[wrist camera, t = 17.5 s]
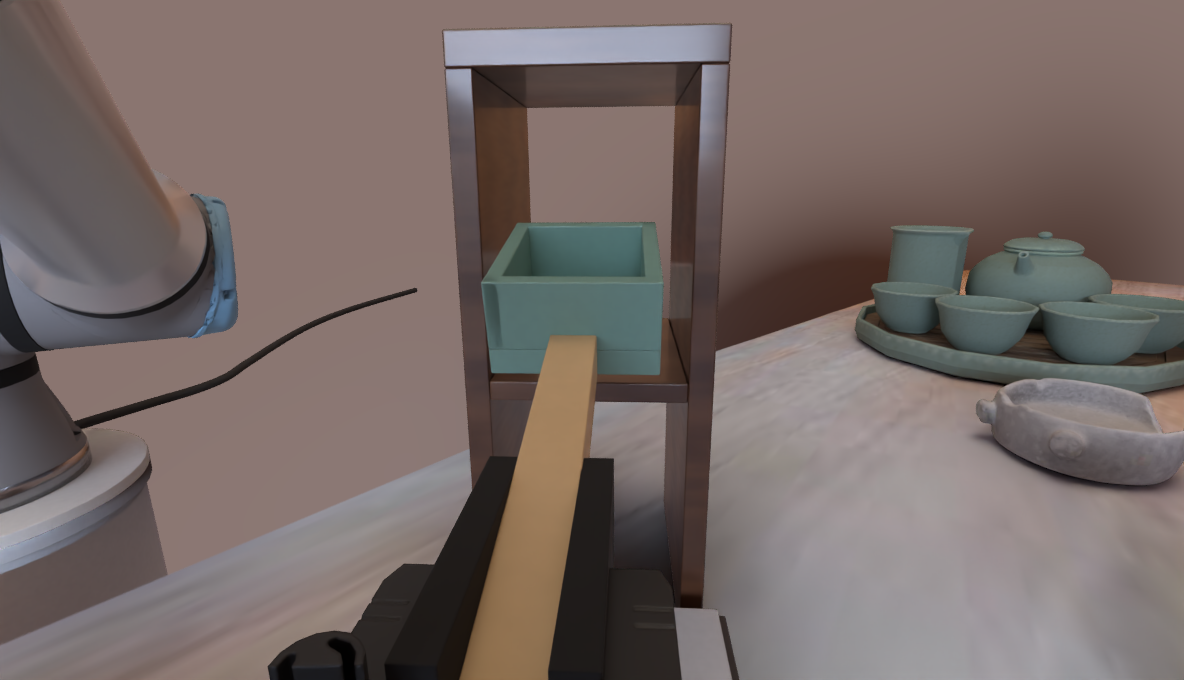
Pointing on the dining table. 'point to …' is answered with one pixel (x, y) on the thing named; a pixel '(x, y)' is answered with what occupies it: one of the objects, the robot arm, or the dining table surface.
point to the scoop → (556, 410)
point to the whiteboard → (704, 645)
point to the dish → (1084, 430)
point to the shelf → (502, 199)
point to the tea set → (1019, 315)
